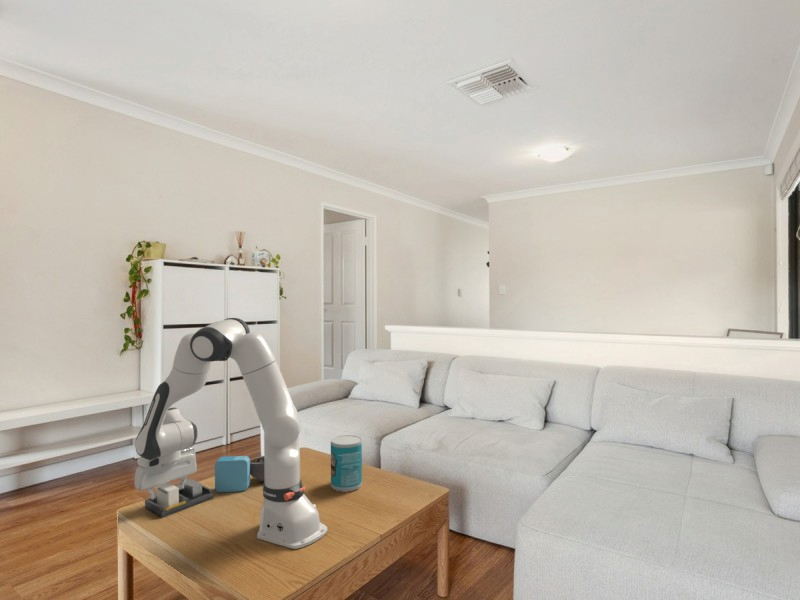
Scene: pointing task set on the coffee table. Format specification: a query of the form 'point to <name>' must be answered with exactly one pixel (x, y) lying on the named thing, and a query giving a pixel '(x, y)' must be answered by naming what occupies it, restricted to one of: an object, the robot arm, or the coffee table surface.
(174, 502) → the beige rectangular block
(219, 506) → the coffee table surface
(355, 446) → the food can
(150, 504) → the rack
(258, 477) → the planter
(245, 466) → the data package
